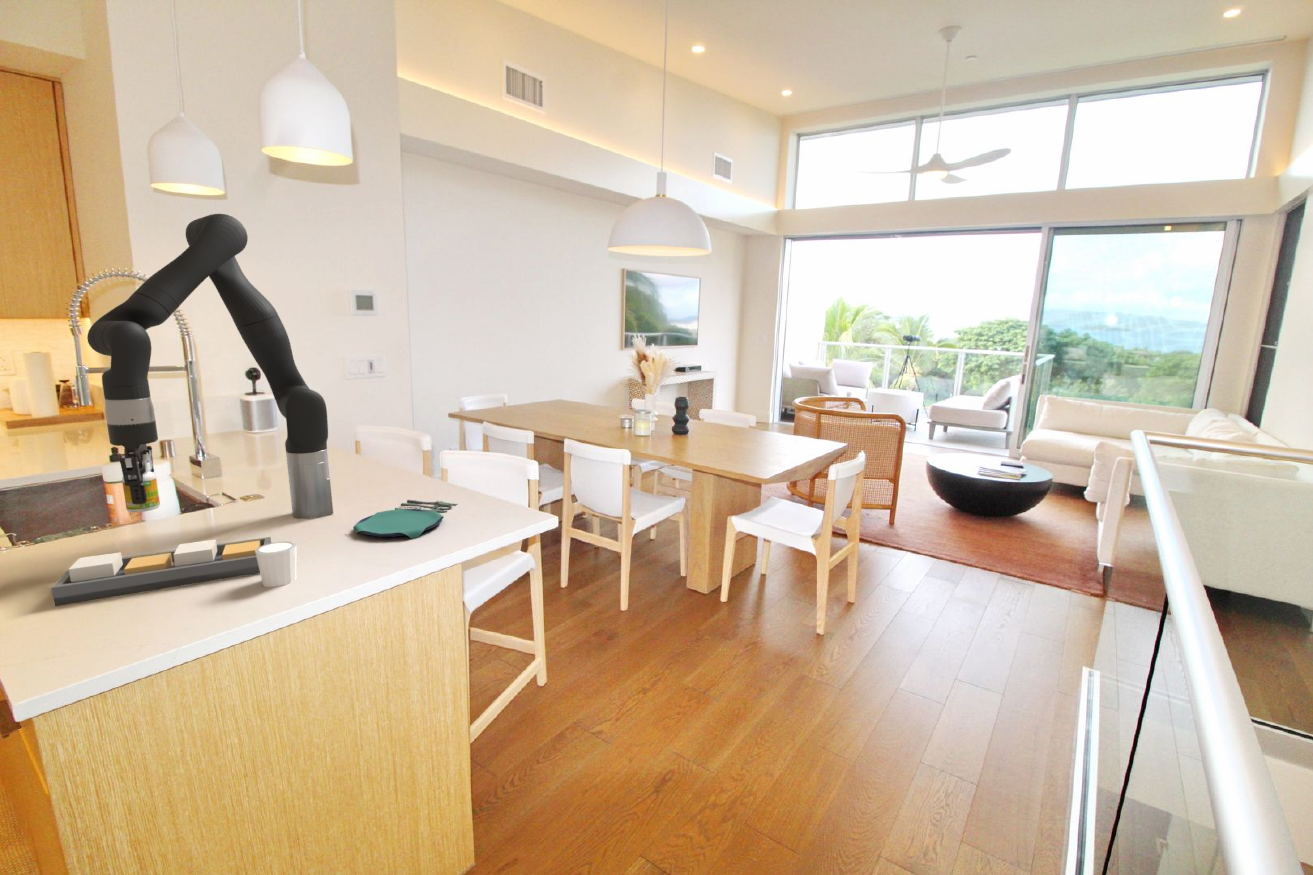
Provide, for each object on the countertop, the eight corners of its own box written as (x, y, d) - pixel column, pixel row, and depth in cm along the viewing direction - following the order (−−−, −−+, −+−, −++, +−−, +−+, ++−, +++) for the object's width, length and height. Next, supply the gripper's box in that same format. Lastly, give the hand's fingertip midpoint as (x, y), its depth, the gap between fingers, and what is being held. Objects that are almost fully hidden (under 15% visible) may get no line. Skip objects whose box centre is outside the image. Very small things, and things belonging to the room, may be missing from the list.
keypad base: (272, 551, 131) (270, 536, 131) (269, 571, 121) (267, 555, 121) (77, 581, 116) (74, 564, 115) (54, 606, 106) (51, 587, 105)
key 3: (172, 564, 120) (170, 552, 120) (166, 575, 115) (164, 563, 115) (134, 570, 117) (132, 558, 117) (126, 581, 112) (124, 569, 112)
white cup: (270, 573, 120) (267, 541, 119) (306, 573, 121) (303, 540, 119) (251, 588, 113) (246, 554, 112) (289, 587, 114) (285, 553, 113)
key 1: (261, 551, 128) (259, 540, 127) (259, 561, 123) (257, 549, 122) (227, 556, 125) (225, 545, 124) (223, 566, 120) (222, 554, 119)
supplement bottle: (140, 513, 122) (133, 467, 120) (119, 511, 123) (112, 465, 122) (167, 506, 127) (160, 461, 126) (146, 504, 129) (140, 460, 127)
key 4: (122, 564, 116) (120, 552, 116) (114, 575, 111) (112, 563, 111) (81, 570, 113) (79, 557, 113) (71, 582, 108) (68, 569, 108)
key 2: (217, 550, 124) (215, 539, 123) (213, 560, 119) (211, 549, 118) (180, 556, 121) (179, 544, 120) (175, 566, 116) (173, 554, 115)
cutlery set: (338, 540, 140) (337, 530, 139) (402, 504, 169) (402, 496, 169) (419, 544, 138) (419, 535, 138) (470, 507, 167) (470, 499, 167)
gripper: (146, 424, 118) (158, 506, 121) (162, 414, 130) (172, 489, 133) (96, 426, 114) (110, 511, 117) (117, 416, 126) (129, 493, 129)
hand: (143, 499), depth 125 cm, fingers closed on supplement bottle, 5 cm apart
